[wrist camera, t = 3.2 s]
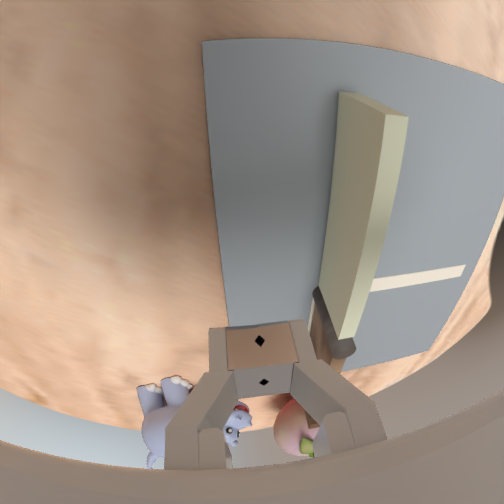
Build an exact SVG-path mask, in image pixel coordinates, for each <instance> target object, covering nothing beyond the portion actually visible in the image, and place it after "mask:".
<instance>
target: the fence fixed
mask: <svg viewBox="0 0 504 504" xmlns="http://www.w3.org/2000/svg"><path fill="white" fill-rule="evenodd" d="M312 295H313V298H314V301H315V308H314V314H313V319H312V325H311V330H310V338H311V341H312V344H313V348H314V351H315V355H316V358H317V360H320V359H322V360H323V361H324V362H326V363H327V364H328V365H329V366H330V367H332V368H333V369H334V370H335V371H337V372H338V373H339V374H340V373H341V370H342V368H343V365H344V363H345V360H346V358H347V357H349V356H351V355H352V354H354V353H355V351H356V346H355V343H354V340H353V338H352V337H351V338H345V339H340V340H338V337H337V335H336V332H335V329H334V326H333V323H332V321H331V318H330V315H329V312H328V310H327V307H326V304H325V301H324V299H323V296H322V293H321V291H320V288H319V286H317V287H316V288H315V289H314V290H313V292H312ZM304 410H305V409H304ZM305 414H306V419H307V424H308V428H309V429H313V428H318V427H320V425H319V424H318V423H317V422H316V421H315V420H314V419H313V418H312V417H311V416H310V415H309V414H308V413H307V412H306V411H305Z"/></svg>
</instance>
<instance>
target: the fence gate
mask: <svg viewBox="0 0 504 504" xmlns="http://www.w3.org/2000/svg"><path fill="white" fill-rule="evenodd" d="M408 119H409V117H408V116H406V115H404V114H402V113H400V112H398V111H396V110H394V109H392V108H390V107H388V106H386V105H384V104H382V103H379V102H377V101H375V100H373V99H371V98H369V97H366V96H364V95H362V94H359V93H354V92H340V91H339V98H338V115H337V130H336V143H335V155H334V166H333V176H332V186H331V195H330V204H329V212H328V220H327V228H326V236H325V243H324V251H323V258H322V264H321V271H320V277H319V284H318V285H319V288H320V291H321V293H322V296H323V299H324V301H325V304H326V307H327V310H328V312H329V315H330V318H331V321H332V323H333V326H334V329H335V332H336V335H337V337H338V340H340V339H345V338H351V337H354V336H355V333H356V331H357V328H358V325H359V322H360V319H361V316H362V313H363V310H364V307H365V304H366V301H367V298H368V295H369V292H370V289H371V286H372V282H373V279H374V276H375V272H376V269H377V266H378V262H379V258H380V255H381V251H382V248H383V244H384V240H385V236H386V232H387V228H388V224H389V220H390V216H391V212H392V207H393V203H394V198H395V194H396V189H397V184H398V179H399V174H400V169H401V163H402V158H403V152H404V146H405V140H406V133H407V126H408Z"/></svg>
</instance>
